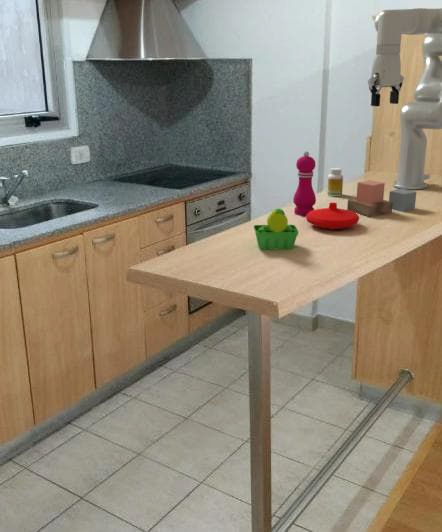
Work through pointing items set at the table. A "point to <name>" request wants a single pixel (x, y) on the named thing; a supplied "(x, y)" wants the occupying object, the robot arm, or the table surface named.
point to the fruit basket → (276, 232)
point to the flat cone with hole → (332, 217)
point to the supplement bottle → (335, 182)
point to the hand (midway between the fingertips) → (384, 104)
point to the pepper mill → (304, 186)
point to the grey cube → (403, 199)
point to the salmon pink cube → (370, 192)
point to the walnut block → (370, 208)
